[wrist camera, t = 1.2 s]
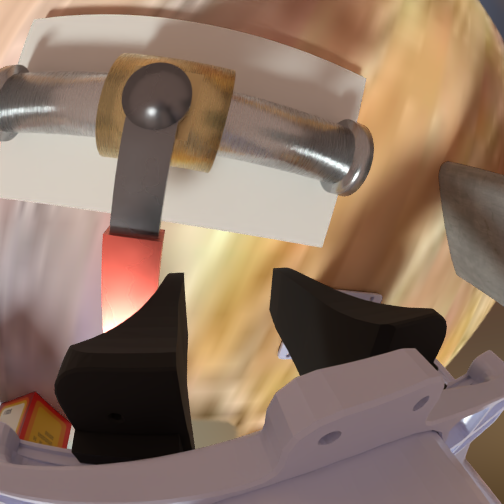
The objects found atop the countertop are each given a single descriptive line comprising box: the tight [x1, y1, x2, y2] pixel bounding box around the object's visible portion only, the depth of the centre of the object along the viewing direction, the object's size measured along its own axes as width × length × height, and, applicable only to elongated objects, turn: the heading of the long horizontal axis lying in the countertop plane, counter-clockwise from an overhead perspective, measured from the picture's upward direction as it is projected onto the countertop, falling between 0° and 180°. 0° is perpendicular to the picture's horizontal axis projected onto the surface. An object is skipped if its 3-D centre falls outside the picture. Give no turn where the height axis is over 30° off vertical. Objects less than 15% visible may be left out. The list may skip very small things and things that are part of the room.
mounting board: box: [0, 14, 366, 248], centre depth 17 cm, size 26×14×2 cm, turn 76°
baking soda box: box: [0, 392, 72, 449], centre depth 18 cm, size 10×6×16 cm
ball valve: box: [0, 53, 374, 196], centre depth 14 cm, size 24×6×7 cm, turn 76°
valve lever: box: [102, 62, 192, 333], centre depth 11 cm, size 12×3×2 cm, turn 167°
